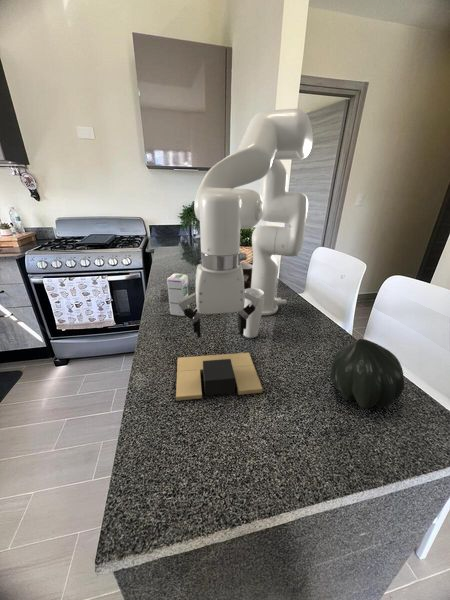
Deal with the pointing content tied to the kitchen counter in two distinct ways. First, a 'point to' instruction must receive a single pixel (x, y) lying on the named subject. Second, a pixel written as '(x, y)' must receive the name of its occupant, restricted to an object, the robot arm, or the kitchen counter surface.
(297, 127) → the robot arm
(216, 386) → the black block
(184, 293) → the syrup box
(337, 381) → the squash
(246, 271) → the coffee mug
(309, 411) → the kitchen counter surface
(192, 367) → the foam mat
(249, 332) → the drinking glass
